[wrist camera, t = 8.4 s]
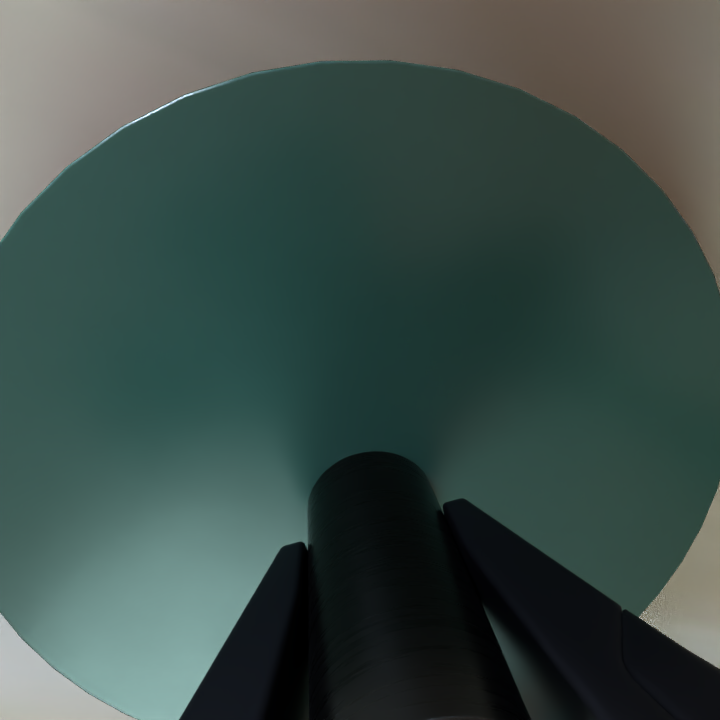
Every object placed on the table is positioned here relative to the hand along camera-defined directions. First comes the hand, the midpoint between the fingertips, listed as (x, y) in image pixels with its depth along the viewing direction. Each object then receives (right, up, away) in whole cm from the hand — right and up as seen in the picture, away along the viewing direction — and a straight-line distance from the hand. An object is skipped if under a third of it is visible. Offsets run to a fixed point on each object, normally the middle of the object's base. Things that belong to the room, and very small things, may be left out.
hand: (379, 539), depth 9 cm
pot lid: (0, +1, +1) cm, 2 cm away
